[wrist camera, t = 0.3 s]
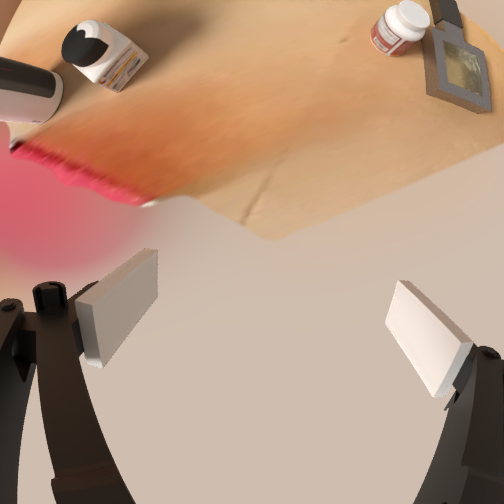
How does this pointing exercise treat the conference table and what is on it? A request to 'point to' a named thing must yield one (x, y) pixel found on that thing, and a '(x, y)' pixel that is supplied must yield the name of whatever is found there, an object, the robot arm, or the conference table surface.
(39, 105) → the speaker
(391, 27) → the pill bottle
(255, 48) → the conference table surface
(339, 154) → the conference table surface
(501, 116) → the conference table surface
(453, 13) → the grey square pan
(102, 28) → the container
